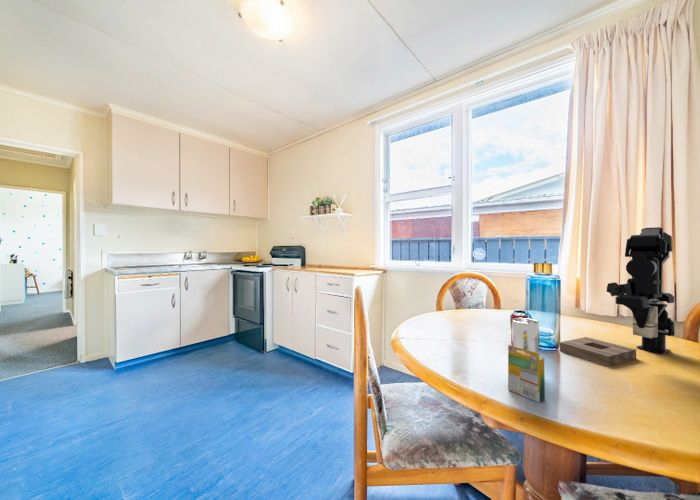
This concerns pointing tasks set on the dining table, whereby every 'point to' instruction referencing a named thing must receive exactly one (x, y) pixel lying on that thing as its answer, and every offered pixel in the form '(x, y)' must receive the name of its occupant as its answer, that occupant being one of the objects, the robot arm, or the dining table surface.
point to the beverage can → (516, 315)
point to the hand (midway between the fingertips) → (645, 327)
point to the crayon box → (526, 374)
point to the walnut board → (598, 351)
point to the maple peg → (648, 325)
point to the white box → (525, 334)
